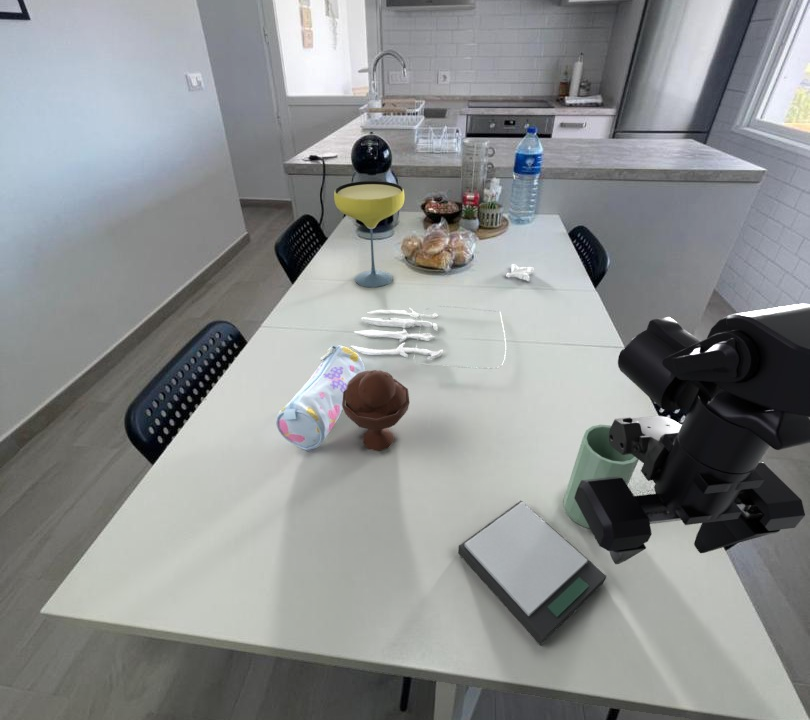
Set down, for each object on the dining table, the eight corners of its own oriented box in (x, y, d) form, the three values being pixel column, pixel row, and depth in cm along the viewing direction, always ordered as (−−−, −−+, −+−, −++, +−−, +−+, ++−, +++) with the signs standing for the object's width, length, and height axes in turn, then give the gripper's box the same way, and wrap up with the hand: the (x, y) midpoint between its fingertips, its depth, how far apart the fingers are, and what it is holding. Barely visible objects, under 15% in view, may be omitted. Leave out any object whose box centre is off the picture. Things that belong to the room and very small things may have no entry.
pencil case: (328, 376, 92) (323, 337, 86) (368, 383, 90) (365, 344, 84) (277, 449, 75) (267, 407, 70) (325, 460, 73) (318, 417, 68)
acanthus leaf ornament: (510, 268, 135) (511, 262, 134) (533, 271, 133) (534, 265, 132) (505, 277, 129) (506, 271, 128) (529, 281, 127) (530, 275, 126)
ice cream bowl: (421, 430, 79) (422, 362, 70) (385, 473, 71) (382, 401, 62) (371, 409, 83) (367, 342, 74) (333, 447, 76) (323, 377, 67)
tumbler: (622, 512, 65) (651, 447, 57) (593, 538, 61) (620, 472, 54) (582, 481, 69) (604, 417, 61) (553, 504, 66) (572, 439, 58)
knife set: (366, 303, 116) (366, 299, 116) (502, 311, 112) (503, 307, 112) (342, 360, 96) (341, 356, 95) (507, 372, 92) (508, 368, 91)
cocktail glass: (342, 267, 135) (334, 181, 121) (401, 264, 137) (401, 179, 122) (341, 295, 121) (332, 201, 106) (408, 291, 122) (408, 198, 108)
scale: (603, 583, 56) (608, 573, 55) (540, 645, 51) (544, 636, 49) (519, 507, 66) (521, 497, 64) (457, 553, 60) (459, 542, 58)
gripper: (747, 378, 44) (690, 482, 53) (567, 394, 42) (540, 499, 51) (853, 464, 35) (763, 571, 44) (629, 489, 33) (583, 596, 42)
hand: (656, 554), depth 46 cm, fingers open, 9 cm apart
